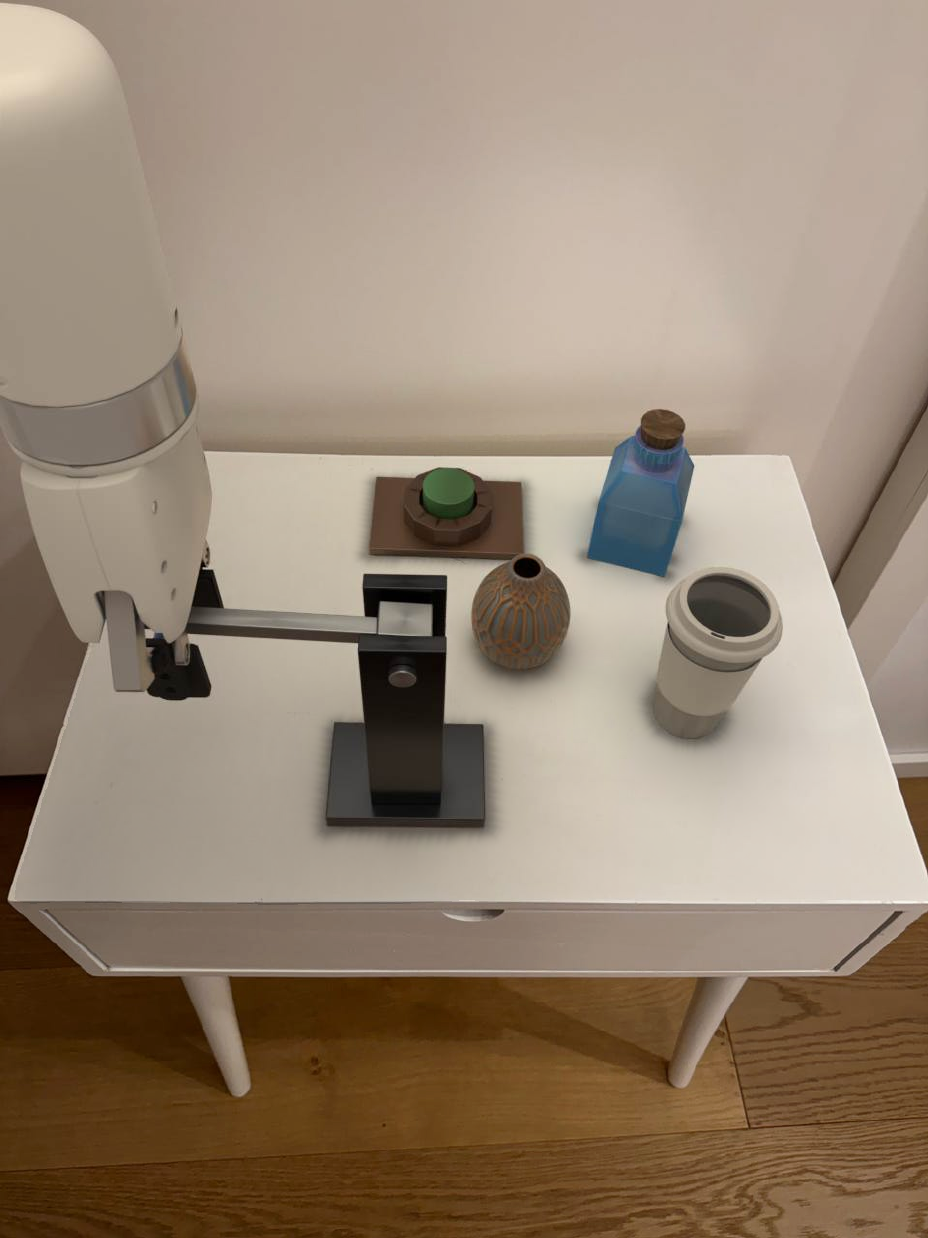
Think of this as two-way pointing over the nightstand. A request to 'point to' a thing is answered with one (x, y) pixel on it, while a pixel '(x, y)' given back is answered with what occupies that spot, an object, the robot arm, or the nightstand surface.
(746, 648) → the cup
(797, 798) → the nightstand surface
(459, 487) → the light button
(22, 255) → the robot arm
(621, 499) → the perfume bottle
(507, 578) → the vase
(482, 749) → the switch bracket
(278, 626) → the light lever
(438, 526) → the button block
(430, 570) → the nightstand surface
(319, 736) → the nightstand surface
